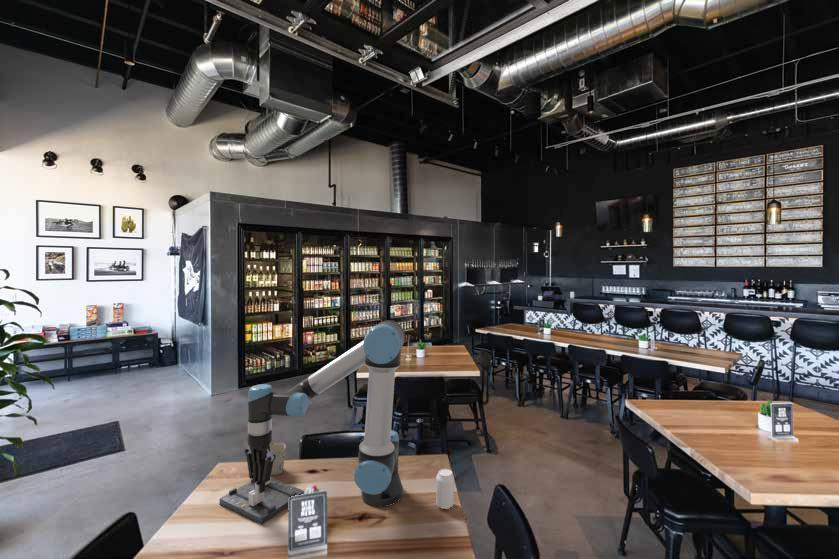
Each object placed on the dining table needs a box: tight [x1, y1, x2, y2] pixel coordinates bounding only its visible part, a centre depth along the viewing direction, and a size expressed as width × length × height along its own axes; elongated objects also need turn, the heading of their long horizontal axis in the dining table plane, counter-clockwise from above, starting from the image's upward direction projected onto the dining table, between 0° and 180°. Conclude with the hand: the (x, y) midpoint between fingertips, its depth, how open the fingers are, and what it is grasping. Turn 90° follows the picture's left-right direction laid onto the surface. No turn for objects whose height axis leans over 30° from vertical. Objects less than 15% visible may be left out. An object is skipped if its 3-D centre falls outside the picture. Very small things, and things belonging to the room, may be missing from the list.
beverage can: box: [435, 468, 455, 508], centre depth 131 cm, size 6×6×12 cm
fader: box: [249, 490, 263, 506], centre depth 129 cm, size 2×4×4 cm, turn 151°
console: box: [219, 477, 305, 526], centre depth 134 cm, size 22×18×3 cm
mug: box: [269, 442, 287, 476], centre depth 154 cm, size 8×13×10 cm, turn 78°
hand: (259, 500), depth 128 cm, fingers closed
